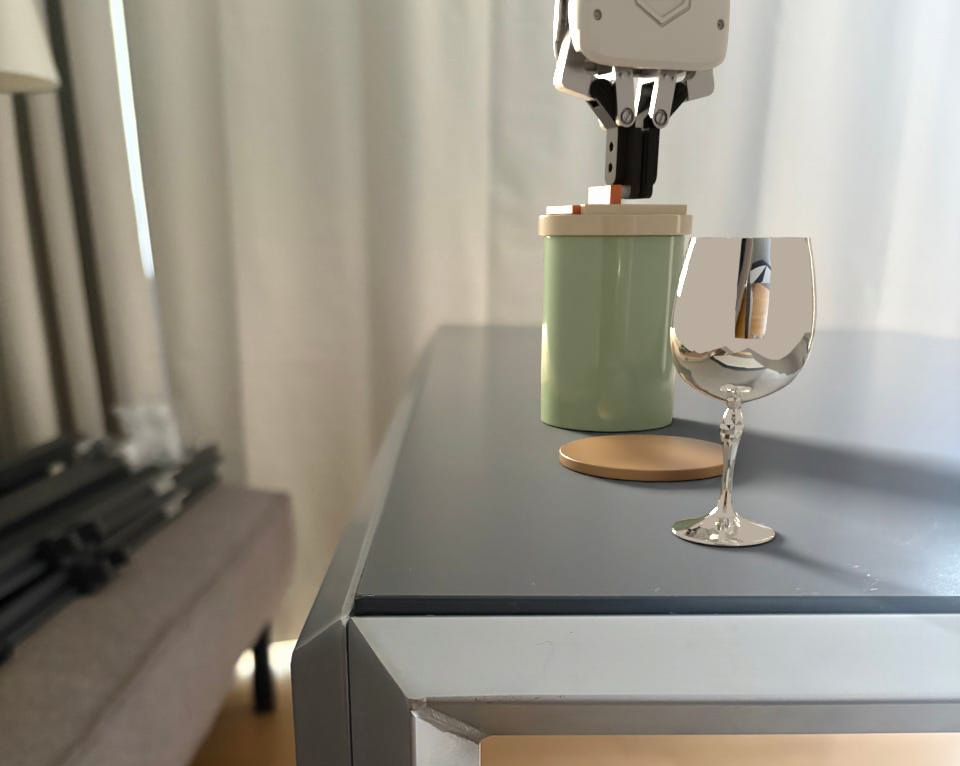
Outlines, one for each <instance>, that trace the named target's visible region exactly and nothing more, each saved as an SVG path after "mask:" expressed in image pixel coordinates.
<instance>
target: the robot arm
mask: <svg viewBox="0 0 960 766" xmlns="http://www.w3.org/2000/svg"><path fill="white" fill-rule="evenodd" d="M730 15H731V0H554V14H553V53H554V57H555V61H556V69H555V72H554V77H553V87H554V88H555V89H556V90H557V91H558V92H561V93H563V94H566V95H569V96H571V97H573V98H574V97H575V98H578V99H582V100H584V101H585V103H587V105H588V106H589V107H590V109H591V111H592V112H593V113H594V115H595V116H596V117H597V119H598V124H599V128H601V129H602V130H603V131H604V132H605V134H606V135H605V152H604V153H605V154H604V155H605V156H604V159H605V160H604V183H605V185H622V192H621V200H645V199H646V200H647V199H651V198H652V196H653V193H654V192H653V191H654V185H655V184H656V182H657V179H658V169H659V154H660V153H659V152H660V151H659V150H660V136H661V130H662V129H664V128H666V127H667V125H668V124H669V122H670V119H671V117H672V116H673V115H674V114H675V112H676V111H677V110H678V109H679V108H680V107H681V105H682V104H684V103H687V102H690V101H695V100H698V99H702V98H705V97H709V96H711V95H712V94H713V93H714V91H715V77H714V69H715V68H717V67H719V66H720V65H721V64H723V63H724V61H725V59H726V56H727V52H728V44H729V32H730V18H731V17H730ZM682 77H684V78H683V79H682V80H680V81H677V79H679V78H682ZM634 78H636V79H638V82H637V88H636V94H635V81H634Z"/></svg>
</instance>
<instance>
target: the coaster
mask: <svg viewBox="0 0 960 766" xmlns="http://www.w3.org/2000/svg"><path fill="white" fill-rule="evenodd" d="M558 457H559V462H560V464H561V465H562V466H564V467H565V468H568V469H569V470H572V471H575V472H578V473H581V474H584V475H590V476H594V477H599V478H606V479H612V480H613V479H614V480H624V481H635V482H637V481H638V482H682V481H694V480H695V481H696V480H703V479H709V478H714V477H718V476H722V474H723V447H722V444H719V443H716V442H714V441H713V442H712V441H708V440H703V439H698V438H692V437H684V436H676V435H675V436H674V435H662V434H661V435H660V434H612V435H611V434H610V435H600V436H592V437H585V438H580V439H575V440H572V441H570V442H567V443H565V444H563V445H562V446H561V447H560V448H559V456H558ZM736 465H737V456H736V457H735V462H734V469H735V468H736Z"/></svg>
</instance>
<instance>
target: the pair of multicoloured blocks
mask: <svg viewBox="0 0 960 766" xmlns="http://www.w3.org/2000/svg"><path fill="white" fill-rule="evenodd" d="M621 192H622V185H607V184H605V185H592V186H589V187H588V204H622V199H621ZM546 215H581V204H569V205H548V207H547V206H546Z"/></svg>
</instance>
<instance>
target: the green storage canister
mask: <svg viewBox="0 0 960 766" xmlns="http://www.w3.org/2000/svg"><path fill="white" fill-rule="evenodd" d="M580 205H581V215H547V214H543V215H542V214H541V215H538V217H537V235H538V236H543V259H542V261H543V266H542V307H541V308H542V313H541V314H542V315H541V359H540V360H541V361H540V363H541V365H540V408H539V409H540V412H539V419H540V420H541V422H542V423H544V424H546V425H549V426H552V427H556V428H561V429H566V430H573V431H584V432H597V433H598V432H599V433H625V432H642V431H650V430H657V429H661V428H664V427H667V426H670V425H671V424H672V423H673V419H674V418H673V417H674V403H675V390H676V377H677V370H676V368H675V366H674V363H673V360H672V356H671V351H670V334H669V326H670V317H671V310H672V304H673V298H674V293H675V289H676V284H677V280H678V276H679V273H680V269H681V266H682V262H683V259H684V256H685V252H686V249H685V247H686V236H692V235H693V226H694V225H693V224H694V215H693V214H687V210H688V204H654V203H653V204H651V203H650V204H648V203H647V204H646V203H644V204H643V203H628V204H627V203H621V204H589V203H581V204H580ZM548 206H549V205H548ZM548 206H546V208H547V207H548Z"/></svg>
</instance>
